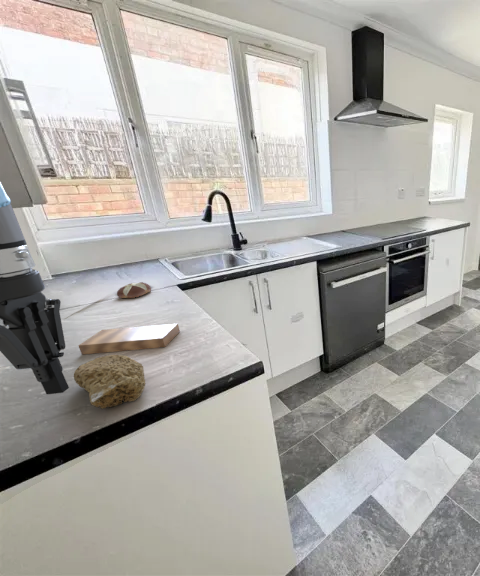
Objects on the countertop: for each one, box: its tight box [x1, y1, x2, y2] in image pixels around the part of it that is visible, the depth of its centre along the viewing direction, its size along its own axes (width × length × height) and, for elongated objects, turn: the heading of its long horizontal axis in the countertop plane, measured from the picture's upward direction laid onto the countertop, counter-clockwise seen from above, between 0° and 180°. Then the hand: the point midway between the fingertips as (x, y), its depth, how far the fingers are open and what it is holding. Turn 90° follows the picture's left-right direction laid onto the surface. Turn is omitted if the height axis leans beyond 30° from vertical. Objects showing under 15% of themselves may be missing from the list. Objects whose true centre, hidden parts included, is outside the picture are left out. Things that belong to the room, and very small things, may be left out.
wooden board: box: [77, 323, 181, 355], centre depth 95 cm, size 22×10×3 cm, turn 100°
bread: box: [116, 281, 152, 299], centre depth 135 cm, size 11×11×5 cm
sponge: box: [73, 354, 146, 410], centre depth 73 cm, size 13×8×20 cm
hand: (57, 391), depth 59 cm, fingers closed
